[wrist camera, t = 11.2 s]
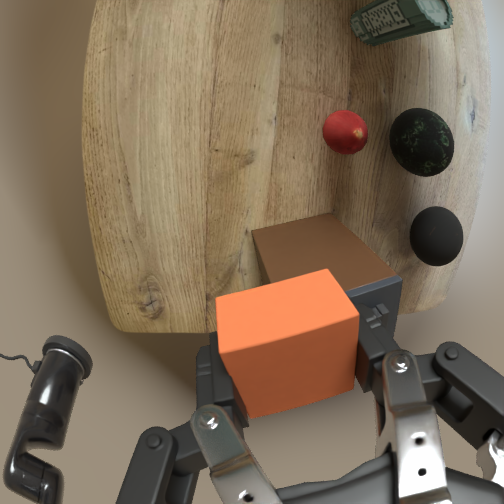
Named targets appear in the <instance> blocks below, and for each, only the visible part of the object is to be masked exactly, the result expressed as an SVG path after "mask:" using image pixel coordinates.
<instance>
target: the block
mask: <svg viewBox="0 0 504 504" xmlns="http://www.w3.org/2000/svg"><path fill="white" fill-rule="evenodd" d="M215 303H216V320H217V335H218V349H219V354H220V357H221V359H222V361H223V363H224V365H225V368H226V370H227V372H228V374H229V376H231V377H232V379H233V381H234V383H235V385H236V387H237V389H238V392H239V394H240V396H241V398H242V400H243V402H244V404H245V406H246V411H247V413H248V415H249V417H250V418H256V417H260V416H265V415H269V414H273V413H278V412H282V411H285V410H289V409H293V408H297V407H300V406H304V405H307V404H310V403H314V402H317V401H320V400H323V399H326V398H329V397H332V396H335V395H338V394H341V393H344V392H347V391H350V390H352V389H353V388H354V379H355V369H356V358H357V346H358V332H359V312H358V311H357V309H356V308H355V306H354V305H353V304H352V302H351V301H350V299H349V298H348V296H347V295H346V294H345V292H344V291H343V289H342V288H341V286H340V285H339V284H338V282H337V281H336V279H335V278H334V277H333V275H332V274H331V272H330V271H329V270H328V269H323V270H319V271H316V272H312V273H309V274H305V275H301V276H298V277H294V278H290V279H287V280H283V281H279V282H275V283H272V284H268V285H264V286H260V287H256V288H252V289H248V290H244V291H240V292H236V293H232V294H228V295H224V296H220V297H217V298H216V299H215Z"/></svg>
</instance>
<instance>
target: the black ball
mask: <svg viewBox="0 0 504 504" xmlns="http://www.w3.org/2000/svg"><path fill="white" fill-rule="evenodd" d="M410 243H411V246H412V249H413V251H414V253H415V254H416V256H417V257H418V258H419V259H420V260H421V261H423V262H424V263H426V264H428V265H431V266H443V265H446V264H448V263H450V262H451V261H453V260H454V259H455V258H456V257H457V255H458V254H459V252H460V250H461V248H462V244H463V230H462V226H461V224H460V222H459V220H458V218H457V217H456V216H455V215H454V214H453V213H452V212H451V211H449V210H448V209H446V208H443V207H437V206H435V207H429V208H426V209H424V210H423V211H421V212H420V213H419V214H418V215H417V216H416V217H415V219H414V221H413V223H412V225H411V229H410Z"/></svg>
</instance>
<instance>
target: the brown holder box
mask: <svg viewBox="0 0 504 504" xmlns="http://www.w3.org/2000/svg"><path fill="white" fill-rule="evenodd" d="M252 235H253V240H254V245H255V250H256V254H257V259H258V264H259V268H260V273H261V278H262V283H263V286H264V285H268V284H272V283H275V282H279V281H283V280H287V279H290V278H294V277H298V276H301V275H305V274H309V273H312V272H316V271H319V270H323V269H328V270H329V271H330V272H331V274H332V275H333V277H334V278H335V279H336V281H337V282H338V284H339V285H340V286H341V288H342V289H343V291H344V292H345V294H346V295H347V296H349V297H350V298H351V299H352V301H353V302H354V303H355V305H358V304H361V303H363V304H364V305H366V306H368V307H369V308H371V309H372V310H373V311H374V313H375V314H376V315H377V318H379V320H380V321H381V322H382V325H384V326H385V328H386V329H387V330H388V332H389V333H390V335H391V336H392V337H393V336H394V331H395V326H396V320H397V315H398V309H399V303H400V296H401V289H402V282H403V280H402V279H401V278H400V277H399V276H398V275H397V274H396V273H395V272H394V271H393V270H392V269H391V268H390V267H389V266H388V265H387V264H386V263H385V262H384V261H383V260H382V259H381V258H380V257H379V256H378V255H377V254H376V253H374V252H373V251H372V250H371V249H370V248H369V247H368V246H367V245H366V244H365V243H364V242H363V241H361V240H360V239H359V238H358V237H357V236H356V235H355V234H354V233H353V232H352V231H350V230H349V229H348V228H347V227H346V226H345V225H344V224H343V223H341V222H340V221H339V220H338V219H337V218H336V217H334V216H333V215H332V214H331V213H327V214H322V215H318V216H313V217H309V218H304V219H300V220H295V221H291V222H287V223H282V224H278V225H274V226H269V227H265V228H261V229H257V230H252Z"/></svg>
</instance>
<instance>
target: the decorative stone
mask: <svg viewBox="0 0 504 504" xmlns="http://www.w3.org/2000/svg"><path fill="white" fill-rule="evenodd" d="M389 140H390V147H391V150H392V153H393V155H394V157H395V159H396V160H397V162H398V163H399V164H400V165H401V166H402V167H403V168H404V169H405V170H407V171H408V172H410V173H412V174H415V175H418V176H423V177H428V176H434V175H437V174H439V173H441V172H442V171H443V170H445V169H446V168H447V167H448V165H449V164H450V162H451V160H452V157H453V153H454V140H453V136H452V133H451V130H450V128H449V127H448V125H447V124H446V122H445V121H444V120H443V119H442V118H441V117H440V116H439V115H438V114H436V113H434V112H433V111H430V110H428V109H423V108H413V109H409V110H406V111H404V112H403V113H401V114H400V115H399V116H398V117H397V118H396V119H395V121H394V122H393V124H392V127H391V130H390V135H389Z"/></svg>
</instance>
